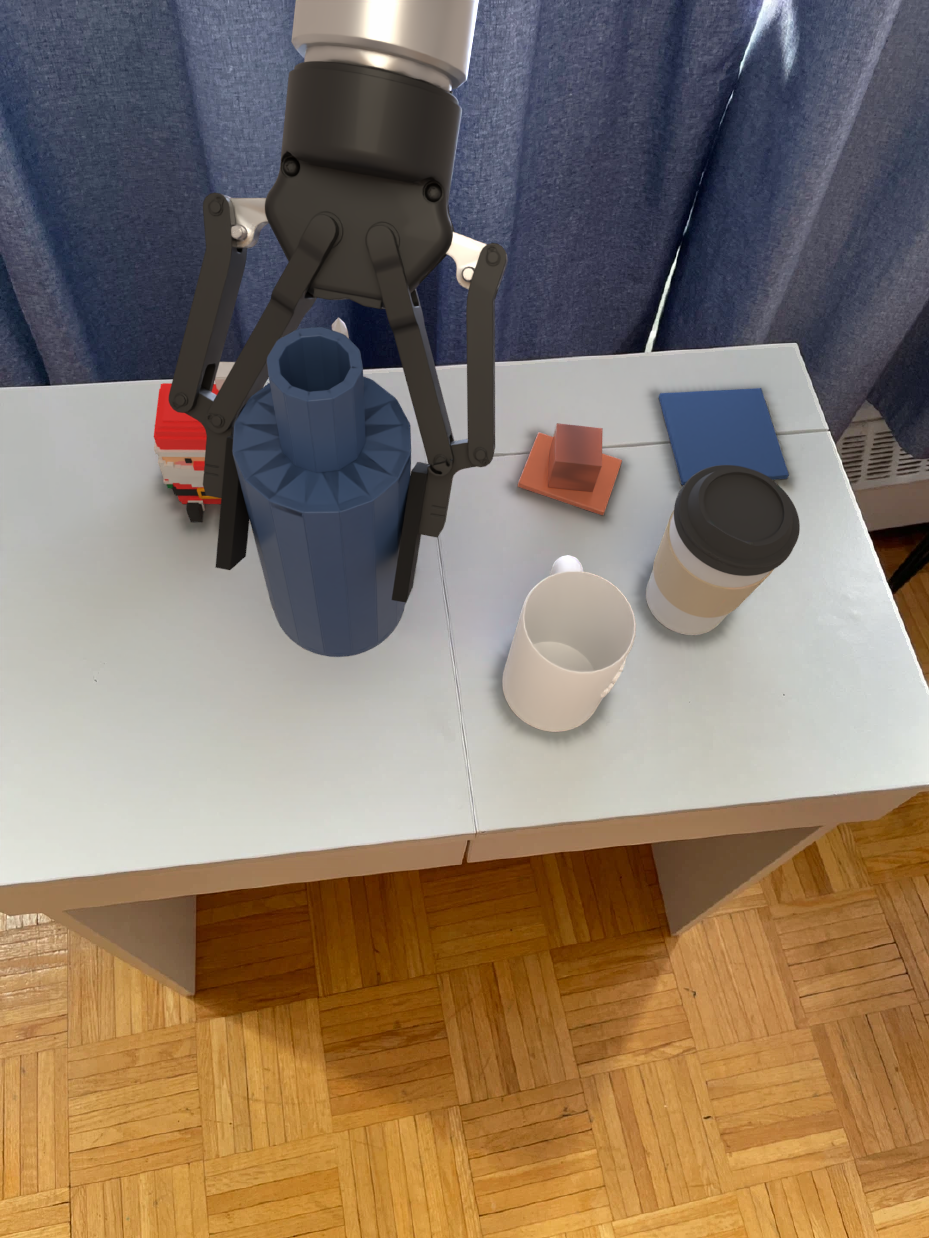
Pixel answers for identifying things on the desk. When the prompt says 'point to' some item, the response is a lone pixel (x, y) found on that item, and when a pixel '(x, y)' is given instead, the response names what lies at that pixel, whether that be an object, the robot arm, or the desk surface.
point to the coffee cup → (719, 546)
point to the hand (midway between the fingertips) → (316, 577)
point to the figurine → (184, 449)
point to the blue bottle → (325, 492)
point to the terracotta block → (575, 457)
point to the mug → (567, 647)
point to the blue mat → (722, 431)
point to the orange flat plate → (594, 501)
